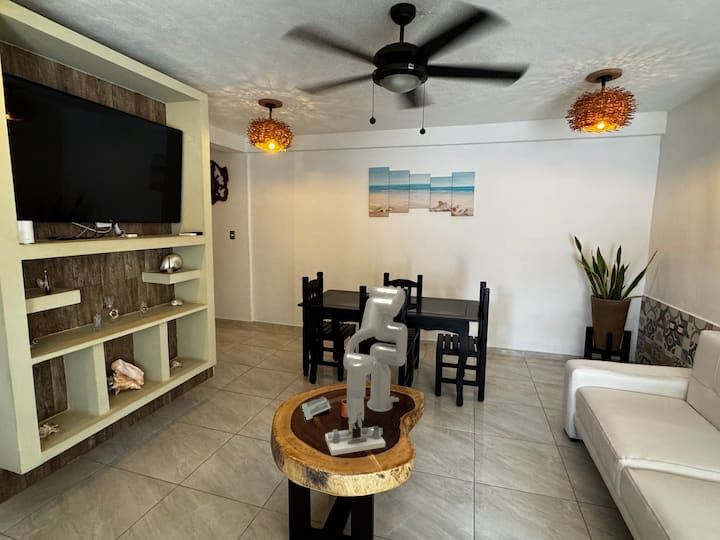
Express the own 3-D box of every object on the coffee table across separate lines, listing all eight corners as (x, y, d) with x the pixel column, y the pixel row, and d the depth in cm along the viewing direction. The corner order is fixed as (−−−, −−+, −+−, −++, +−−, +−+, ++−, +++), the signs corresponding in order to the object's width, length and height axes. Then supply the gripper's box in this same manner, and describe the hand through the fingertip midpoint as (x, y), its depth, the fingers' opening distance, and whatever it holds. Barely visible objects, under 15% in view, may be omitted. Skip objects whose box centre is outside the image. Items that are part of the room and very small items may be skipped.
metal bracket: (325, 391, 182) (332, 405, 168) (328, 402, 183) (335, 416, 169) (297, 402, 178) (302, 417, 164) (300, 413, 179) (306, 429, 165)
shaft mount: (375, 431, 157) (375, 418, 157) (385, 446, 146) (385, 433, 145) (325, 438, 151) (325, 425, 150) (331, 455, 140) (331, 441, 139)
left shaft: (362, 439, 147) (362, 430, 147) (362, 434, 151) (362, 425, 151) (382, 439, 148) (382, 430, 147) (381, 434, 151) (382, 425, 151)
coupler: (360, 431, 151) (360, 415, 150) (363, 436, 147) (363, 420, 146) (347, 433, 149) (347, 417, 149) (349, 438, 145) (350, 422, 145)
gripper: (341, 383, 153) (340, 424, 155) (353, 401, 137) (351, 447, 139) (359, 381, 155) (357, 422, 157) (371, 399, 139) (370, 444, 141)
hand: (354, 433), depth 148 cm, fingers closed on coupler, 3 cm apart
